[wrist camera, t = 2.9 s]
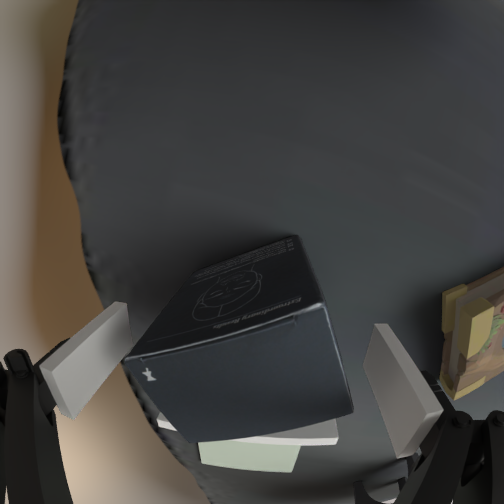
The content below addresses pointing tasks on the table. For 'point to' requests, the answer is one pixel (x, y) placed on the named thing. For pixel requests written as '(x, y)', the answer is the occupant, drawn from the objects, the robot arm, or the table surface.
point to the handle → (287, 434)
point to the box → (245, 349)
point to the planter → (364, 500)
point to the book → (472, 334)
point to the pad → (249, 455)
